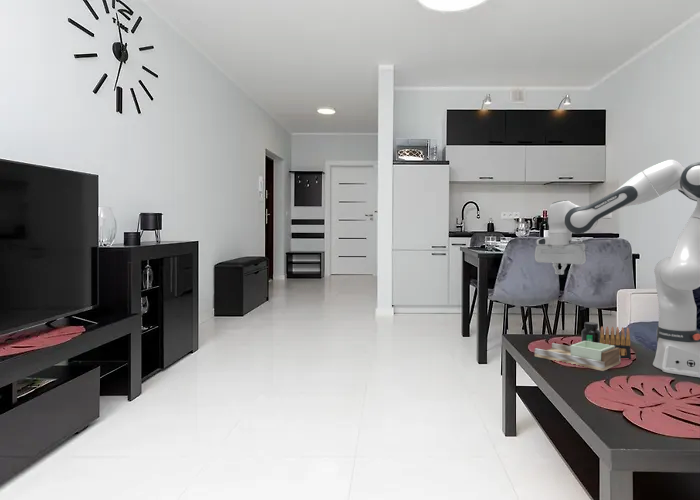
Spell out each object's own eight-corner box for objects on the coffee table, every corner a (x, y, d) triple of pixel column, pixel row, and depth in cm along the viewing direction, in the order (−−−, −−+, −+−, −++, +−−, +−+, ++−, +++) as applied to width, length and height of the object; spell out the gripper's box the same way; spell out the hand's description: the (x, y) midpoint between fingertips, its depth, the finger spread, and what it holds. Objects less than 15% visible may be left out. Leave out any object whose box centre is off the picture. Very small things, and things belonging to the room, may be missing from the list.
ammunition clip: (630, 358, 184) (630, 327, 183) (631, 359, 182) (631, 327, 182) (598, 355, 187) (599, 325, 187) (599, 357, 186) (599, 326, 185)
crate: (614, 359, 177) (614, 345, 176) (601, 365, 170) (601, 350, 170) (584, 353, 185) (584, 340, 185) (570, 359, 178) (570, 345, 178)
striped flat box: (620, 363, 177) (620, 347, 176) (603, 370, 168) (603, 353, 168) (553, 350, 197) (553, 335, 197) (534, 356, 188) (534, 341, 188)
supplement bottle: (591, 356, 187) (592, 325, 187) (577, 352, 194) (577, 322, 193) (604, 354, 190) (604, 324, 189) (590, 350, 196) (590, 321, 196)
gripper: (589, 240, 190) (588, 275, 190) (540, 240, 206) (540, 272, 206) (581, 240, 186) (581, 276, 187) (532, 240, 202) (532, 273, 203)
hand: (559, 274), depth 197 cm, fingers closed
